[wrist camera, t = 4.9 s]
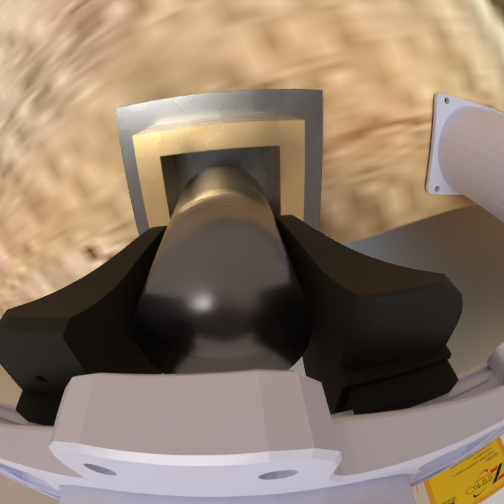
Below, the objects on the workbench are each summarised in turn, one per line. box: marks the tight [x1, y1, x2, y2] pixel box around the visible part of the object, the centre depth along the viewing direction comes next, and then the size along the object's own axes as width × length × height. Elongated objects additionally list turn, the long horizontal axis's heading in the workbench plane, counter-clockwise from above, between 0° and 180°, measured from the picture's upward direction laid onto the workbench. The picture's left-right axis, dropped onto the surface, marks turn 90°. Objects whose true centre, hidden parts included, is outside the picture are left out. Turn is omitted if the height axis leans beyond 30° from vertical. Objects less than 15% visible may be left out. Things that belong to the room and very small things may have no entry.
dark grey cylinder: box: [133, 166, 313, 374], centre depth 10 cm, size 4×4×8 cm
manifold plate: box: [115, 89, 322, 236], centre depth 18 cm, size 12×18×4 cm, turn 3°
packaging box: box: [413, 436, 504, 504], centre depth 35 cm, size 16×16×25 cm
